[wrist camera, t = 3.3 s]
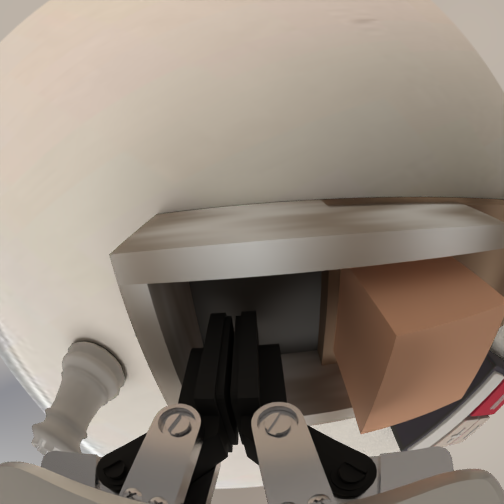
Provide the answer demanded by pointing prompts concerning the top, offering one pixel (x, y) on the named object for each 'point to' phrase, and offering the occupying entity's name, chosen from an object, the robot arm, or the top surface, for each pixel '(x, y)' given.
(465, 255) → the metal sorting tray
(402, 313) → the block
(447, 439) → the calculator
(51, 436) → the rook chess piece
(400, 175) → the top surface
